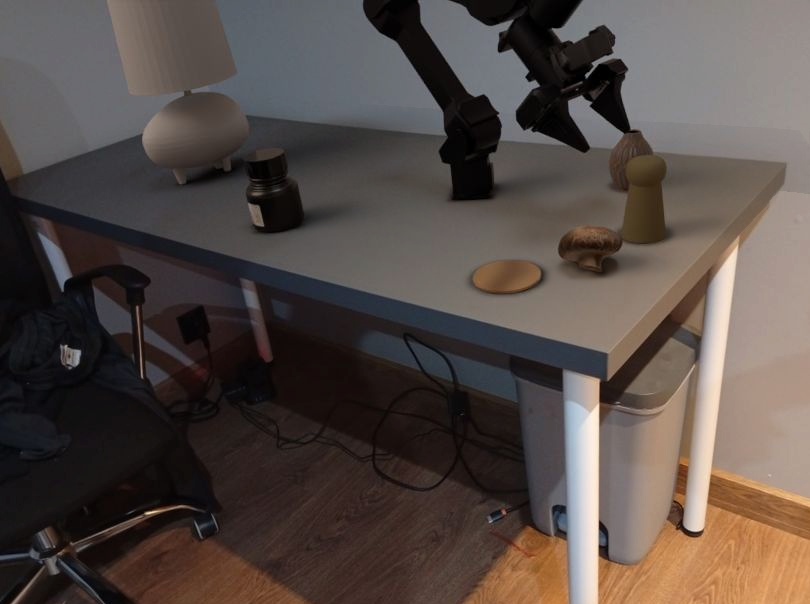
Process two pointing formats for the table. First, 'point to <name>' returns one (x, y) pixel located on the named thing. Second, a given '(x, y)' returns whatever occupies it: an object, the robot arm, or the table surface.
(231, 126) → the table lamp
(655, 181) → the pepper shaker
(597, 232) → the mushroom
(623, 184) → the vase
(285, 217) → the ink bottle
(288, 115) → the table surface
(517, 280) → the coaster
